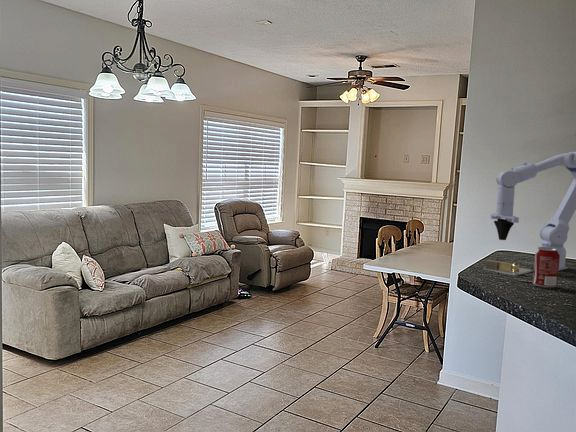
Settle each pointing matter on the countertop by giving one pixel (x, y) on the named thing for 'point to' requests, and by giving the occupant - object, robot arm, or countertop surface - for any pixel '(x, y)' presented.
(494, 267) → the keeper
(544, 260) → the soda can
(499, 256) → the countertop surface
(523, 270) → the plate
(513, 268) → the swing bar
